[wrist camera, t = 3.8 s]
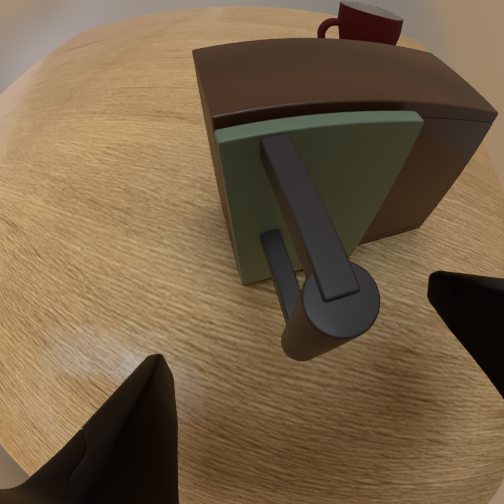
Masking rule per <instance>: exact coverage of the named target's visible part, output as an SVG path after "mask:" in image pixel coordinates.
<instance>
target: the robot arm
mask: <svg viewBox="0 0 504 504" xmlns="http://www.w3.org/2000/svg"><path fill="white" fill-rule="evenodd" d="M427 297H428V300H429V302H430V303H431V305H432V306H433V307H434V309H435V310H436V311H437V313H438V314H439V315H440V317H441V318H442V320H443V321H444V322H445V324H446V325H447V327H448V328H449V329H450V331H451V332H452V333H453V334H454V335H455V337H456V338H457V339H458V340H459V341H460V343H461V344H462V345H463V346H464V347H465V349H466V350H467V351H468V352H469V354H470V355H471V356H472V357H473V358H474V360H475V361H476V362H477V364H478V365H479V366H480V367H481V369H482V370H483V371H484V373H485V374H486V375H487V377H488V378H489V379H490V381H491V382H492V383H493V385H494V386H495V387H496V389H497V390H498V392H499V393H500V394H501V396H502V397H503V399H504V279H502V278H494V277H487V276H479V275H471V274H463V273H455V272H447V271H436V272H434V273H432V274H431V275H430V276H429V282H428V292H427ZM0 504H179V494H178V421H177V410H176V400H175V389H174V379H173V375H172V372H171V371H170V369H169V367H168V365H167V363H166V361H165V358H164V357H163V355H162V354H154V355H149V356H148V357H146V359H145V360H144V361H143V362H142V363H141V364H140V365H139V366H138V367H137V368H136V369H135V370H134V371H133V373H132V374H131V375H130V376H129V377H128V378H127V379H126V380H125V381H124V382H123V383H122V384H121V386H120V387H119V388H118V389H117V390H116V391H115V392H114V393H113V394H112V395H111V396H110V397H109V399H108V400H107V401H106V402H105V403H104V404H103V405H102V406H101V407H100V408H99V409H98V410H97V412H96V413H95V414H94V415H93V416H92V417H91V418H90V419H89V420H88V421H87V422H86V423H85V425H84V426H83V427H82V429H80V430H79V431H78V432H77V433H76V434H75V435H74V437H73V438H72V439H71V440H70V441H69V442H68V443H67V444H66V445H65V446H64V447H63V448H62V449H61V450H60V451H59V452H58V453H57V454H56V455H55V456H53V457H52V458H51V459H50V460H49V461H48V462H47V463H46V464H45V465H44V466H42V467H41V468H40V469H39V470H38V471H37V472H36V473H34V474H33V475H32V476H31V477H30V478H29V479H28V480H27V481H25V482H24V483H23V484H21V485H19V486H17V487H14V488H10V489H0Z"/></svg>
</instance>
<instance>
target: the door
mask: <svg viewBox="0 0 504 504" xmlns="http://www.w3.org/2000/svg"><path fill="white" fill-rule="evenodd" d="M423 124H424V120H423V119H422V118H421V117H420V116H419V115H418V114H417V112H415V111H359V112H340V113H326V114H315V115H305V116H296V117H288V118H281V119H274V120H267V121H261V122H255V123H249V124H243V125H238V126H233V127H228V128H223V129H218V130H215V132H214V135H215V140H216V146H217V152H218V158H219V164H220V169H221V175H222V181H223V186H224V192H225V198H226V203H227V209H228V214H229V220H230V225H231V230H232V236H233V241H234V246H235V252H236V257H237V262H238V268H239V273H240V278H241V281H242V284H243V285H244V284H248V283H252V282H256V281H259V280H263V279H267V278H271V277H272V280H273V283H274V286H275V289H276V293H277V296H278V299H279V303H280V306H281V309H282V312H283V316H284V319H285V322H286V327H285V329H284V331H283V334H282V337H281V345H282V348H283V350H284V352H285V353H286V355H287V356H289V357H290V358H291V359H293V360H296V361H308V360H310V359H313V358H315V357H317V356H319V355H322V354H324V353H326V352H328V351H330V350H332V349H334V348H336V347H338V346H341V345H343V344H345V343H347V342H349V341H351V340H353V339H355V338H356V337H358V336H360V335H362V334H364V333H365V332H366V331H367V330H369V329H370V327H371V326H372V325H373V324H374V322H375V320H376V318H377V316H378V313H379V308H380V295H379V290H378V287H377V285H376V283H375V281H374V279H373V278H372V276H371V275H370V274H369V273H368V272H367V271H366V270H365V269H363V268H362V267H361V266H359V265H357V264H355V263H353V262H350V261H349V259H348V256H351V255H352V253H353V252H354V250H355V249H356V247H357V245H358V244H359V242H360V241H361V239H362V237H363V236H364V234H365V232H366V231H367V229H368V227H369V226H370V224H371V222H372V221H373V219H374V217H375V216H376V214H377V212H378V210H379V209H380V207H381V205H382V203H383V202H384V200H385V198H386V196H387V195H388V193H389V191H390V189H391V187H392V185H393V184H394V182H395V180H396V178H397V176H398V174H399V172H400V170H401V169H402V167H403V165H404V163H405V161H406V159H407V157H408V155H409V153H410V151H411V149H412V147H413V145H414V143H415V141H416V139H417V136H418V134H419V132H420V130H421V128H422V126H423ZM301 269H303V271H304V274H305V277H306V280H305V282H304V284H303V287H302V289H301V291H300V288H299V285H298V282H297V279H296V276H295V273H294V271H298V270H301Z"/></svg>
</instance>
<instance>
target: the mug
mask: <svg viewBox="0 0 504 504" xmlns="http://www.w3.org/2000/svg"><path fill="white" fill-rule="evenodd" d="M402 24H403V19H402V18H401V17H399V16H398V15H396V14H394V13H392V12H389V11H387V10H384V9H381V8H378V7H375V6H372V5H368V4H363V3H359V2H353V1H341V2H340V7H339V14H338V18H337V19H336V18H330V19H327V20H325V21H324V22H322V23H321V24H320V26H319V28H318V32H317V35H318V38H325V33H326V31H327V29H328V28H329V27H331V26H338V28H339V39H346V40H358V41H367V42H375V43H382V44H389V45H396V43H397V41H398V39H399V36H400V33H401V29H402Z"/></svg>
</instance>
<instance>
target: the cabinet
mask: <svg viewBox="0 0 504 504" xmlns="http://www.w3.org/2000/svg"><path fill="white" fill-rule="evenodd" d="M192 54H193V59H194V64H195V71H196V76H197V82H198V87H199V93H200V98H201V104H202V109H203V114H204V120H205V125H206V130H207V135H208V141H209V146H210V151H211V156H212V161H213V166H214V171H215V176H216V181H217V186H218V191H219V195H220V200H221V204H222V208H223V212H224V216H225V220H226V224H227V228H228V232H229V236H230V240H231V244H232V248H233V252H234V256H235V260H236V264H237V267H238V262H237V257H236V252H235V246H234V241H233V236H232V230H231V225H230V220H229V214H228V209H227V203H226V198H225V192H224V186H223V181H222V175H221V169H220V164H219V158H218V152H217V146H216V140H215V135H214V132H215V130H218V129H223V128H228V127H233V126H238V125H243V124H249V123H255V122H261V121H267V120H274V119H281V118H288V117H296V116H305V115H315V114H326V113H340V112H359V111H415V112H417V114H418V115H419V116H420V117H421V118H422V119H423V120H424V124H423V126H422V128H421V130H420V132H419V134H418V136H417V139H416V141H415V143H414V145H413V147H412V149H411V151H410V153H409V155H408V157H407V159H406V161H405V163H404V165H403V167H402V169H401V170H400V172H399V174H398V176H397V178H396V180H395V182H394V184H393V185H392V187H391V189H390V191H389V193H388V195H387V196H386V198H385V200H384V202H383V203H382V205H381V207H380V209H379V210H378V212H377V214H376V216H375V217H374V219H373V221H372V222H371V224H370V226H369V227H368V229H367V231H366V232H365V234H364V236H363V237H362V239H361V241H360V242H359V244H363V243H366V242H370V241H373V240H377V239H381V238H384V237H388V236H391V235H395V234H398V233H402V232H405V231H409V230H412V229H416V228H419V227H420V226H421V225H422V223H423V222H424V221H425V220H426V219H427V217H428V216H429V215H430V214H431V212H432V211H433V210H434V208H435V207H436V206H437V205H438V203H439V202H440V201H441V199H442V198H443V197H444V195H445V194H446V193H447V191H448V190H449V189H450V187H451V186H452V185H453V183H454V182H455V181H456V179H457V178H458V176H459V175H460V174H461V172H462V171H463V169H464V168H465V166H466V165H467V163H468V162H469V160H470V159H471V157H472V156H473V154H474V153H475V151H476V150H477V148H478V147H479V145H480V144H481V142H482V140H483V139H484V137H485V135H486V134H487V132H488V130H489V129H490V127H491V125H492V123H493V122H494V120H495V118H496V117H497V115H498V112H497V111H496V110H495V109H494V108H493V107H492V106H491V105H490V104H489V103H488V102H487V101H486V100H485V99H484V98H483V97H482V96H481V95H480V94H479V93H478V92H477V91H476V90H475V89H474V88H473V87H472V86H471V85H470V84H468V83H467V82H466V81H465V80H464V79H463V78H461V77H460V76H459V75H458V74H457V73H456V72H455V71H453V70H452V69H451V68H450V67H448V66H447V65H446V64H445V63H443V62H442V61H441V60H439V59H438V58H437V57H435V56H434V55H433V54H431V53H428V52H424V51H420V50H415V49H411V48H406V47H400V46H395V45H389V44H382V43H375V42H367V41H358V40H346V39H329V38H284V39H267V40H255V41H245V42H237V43H230V44H223V45H217V46H211V47H205V48H200V49H195V50H193V51H192ZM359 244H358V245H359ZM238 271H239V268H238ZM239 275H240V273H239Z"/></svg>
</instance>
